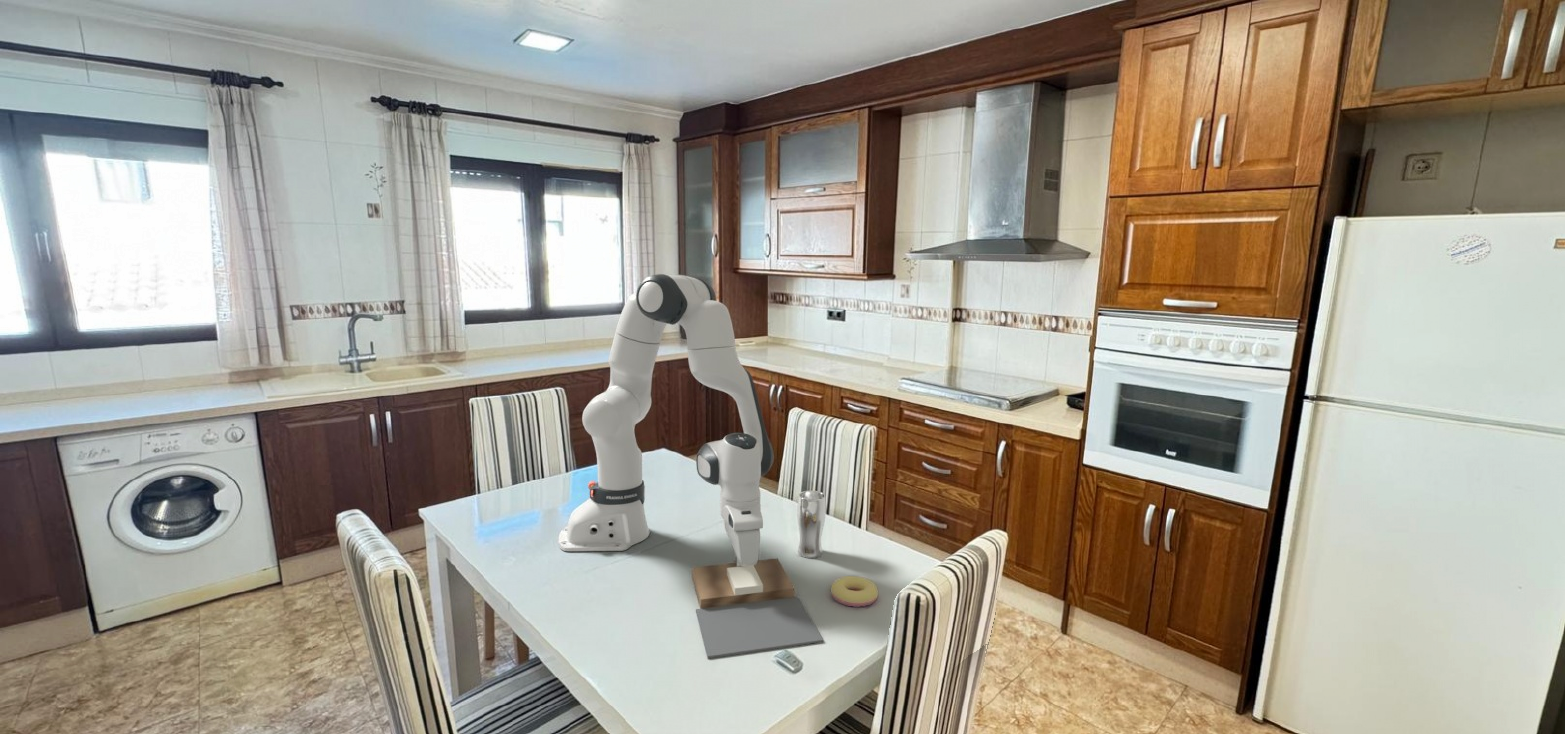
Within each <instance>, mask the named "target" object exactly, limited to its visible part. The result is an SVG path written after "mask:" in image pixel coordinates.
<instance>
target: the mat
mask: <svg viewBox="0 0 1565 734" xmlns="http://www.w3.org/2000/svg"><path fill="white" fill-rule="evenodd" d="M695 612H696V617H697V621H698V624H699V629H700V633H701V637H702V641H703V645H704V649H705V654H706V658H707V660H708V659H715V658H716V657H717V658H722V656H723V657H730V656H736V655H744V654H749V653H758V652H764V651H770V650H776V649H777V650H779V649H784V648H785V647H786V648H792V646H793V647H798V646H797V645H800V646H805V645H804V644H807V645H812V643H814V644H819V643H820V642H821V643H823V642H824V639H823V638H822V635H821V634H820V632H819V631H818V629H817V627H816V625H815V624H814V622H813V619H812V618H811V616H810V614H809V613H808V611H807V609H806V607H805V605H804V603H803V602H802V600H801V598H800V596H794V597H790V598H782V599H774V600H766V601H758V602H750V603H741V604H733V605H725V606H717V607H709V608H700V607H699V608H695ZM810 643H811V644H810ZM821 643H820V644H821ZM729 655H730V656H729Z"/></svg>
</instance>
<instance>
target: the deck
mask: <svg viewBox="0 0 1565 734" xmlns="http://www.w3.org/2000/svg"><path fill="white" fill-rule="evenodd" d="M731 567H737V566H736V563H735V562H732V563H731V562H730V563H721V564H711V565H702V566H692V567H691V575H692V576H691V578H692V583H693V587H694V590H695V594H696V597H697V602H698V605H699V609H700V608H709V607H717V606H725V605H733V604H741V603H750V602H758V601H766V600H774V599H782V598H790V597H795V587H794V585H793V583H792V581H791V579H790V578H789V576H788V575H787V572H786V570H785V569H784V567H783V566H782V563H781V562H780V560H779V558H768V559H760V560H759V559H758V562H757V564H756V565H754V567H755V569H756V571H757V573H758V576H759V578H760V580H761V582H762V584H763V592H760V593H751V594H743V595H735V594H734V592H733V589H732V587H731V584H730V581H729V579H728V576H727V568H731Z"/></svg>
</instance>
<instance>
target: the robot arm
mask: <svg viewBox="0 0 1565 734" xmlns="http://www.w3.org/2000/svg"><path fill="white" fill-rule="evenodd" d="M732 322H733V321H732V318H731V315H730V312H729V309H728V308H727V306H726V305H725V304H724V303H722V302H720V301H717V297H716V292H715V289H714V288H713V287H712V286H711V285H710V284H709V283H708V282H706V281H705V280H703V279H702V278H699V277H692V276H689V275H683V274H669V275H668V274H664V273H663V274H662V273H657V274H652V275H650V276H647V277H646V278H644V279H643V280H642V281H641V282H640V283H639V285H638V287H637V289H636V292H634V293H632V294H631V295H629V297H628V298H627V300H626V302H625V304H624V306H623V308H622V311H621V313H620V315H619V319H618V322H617V325H616V329H615V332H614V337H613V340H612V344H611V348H610V352H609V355H608V360H607V362H608V366H609V368H610V372H609V374H610V376H609V384H608V387H607V389H606V390H605V391H603V392H602V393H600V394H598V395H596V396H594V397H593V398H592V399H591V400H590V401H589V402H588V404H587V405H586V407H585V408H584V410H583V412H582V417H581V419H582V420H581V421H582V425H583V427H584V430H585V431H586V432H587V433H588V434H589V436H591V439H592V442H593V445H594V450H595V453H596V464H597V465H596V466H597V468H596V469H597V482H596V481H595V480H591V481H589V482H588V485H587V486H588V489H589V498H588V499H587V500H585V501H584V502H583V503H581V504H580V505H579V506H577V507H576V508H575V509H574V510H572V512H571V514H570V516H569V519H568V522H567V526H565V527H563V528H562V529H561V531H560V532H559V535H558V546H559V548H560V549H561V551H564V552H617V551H618V552H620V551H626V550H629V548H631V547H632V546H633V545H636V544H639V543H640V542H642V541H644V540H646V539H647V538H648V537H649V536H650V529H649V526H648V522H647V518H646V512H645V505H644V503H645V499H646V494H645V493H646V490H645V489H646V485H645V481H644V480H643V453H642V450H641V448H639V446H638V443H637V439H636V436H635V435H636V434H635V426H636V424H638V423H640V422H641V421H642V420H644V419H645V417H646V416H647V414H648V413H649V411H650V408H651V406H652V395H651V394H652V393H651V392H652V382H653V381H652V380H653V379H652V378H653V371H654V368H655V364H656V360H657V356H658V353H659V349H660V346H661V342H662V337H663V333H664V331H665V328H666V326H667V324H668V325H671V326H673V325H676V324H679V325H680V326H681V327H682V328H683V329H684V332H685V336H686V347H687V359H688V366H689V367H688V368H689V370H690V372H691V375H692V376H693V377H694V379H695V380H696V381H697V382H699V383H701V385H703V386H706V387H708V388H710V389H713V390H717V391H720V392H724V393H726V394H728V396H730V397H732V398H733V400H734V401H735V403H736V406H737V409H738V410H737V411H738V413H739V418H740V421H741V426H742V430H743V432H731V433H729V434H727V435H725V436H724V437H723V439H720V440H714V441H710V442H706V443H704V444H703V445H702V446H701V447H700V448H699V450H698V452H697V455H696V461H695V462H696V472H697V474H698V475H699V477H700V478H701V479H703V480H704V481H705V482H707V483H708V484H710V485H713V486H717V485H718V486H720V489H721V490H720V500H719V501H720V503H719V504H720V505H719V506H720V511H719V512H720V513H719V515H720V517H721V518H722V519H723V520H724V523H723V524H724V529H725V532H726V534H727V537H728V539H729V541H730V544H731V546H732V548H733V554H734V563H736V566H737V567H740V566H750V565H756V564H757V562H758V560H759V558H760V546H761V529H763V527H764V520H763V515H762V511H761V510H762V508H761V506H762V505H761V490H760V480H761V478H762V477H765V476H766V474H767V473H768V472H769V471H770V470H771V467H772V466H773V463H774V460H775V454H774V449H773V446H772V444H771V441H770V439H769V437H768V433H767V429H766V426H765V423H764V422H765V421H764V418H763V413H762V409H761V406H760V401H759V397H758V393H757V390H756V386H755V383H754V380H753V377H752V374H751V372H749V370H747V369H746V368H744V367H743V365H742V364H741V362H740V360H739V356H738V354H737V350H736V349H737V348H736V340H735V339H736V337H735V332H734V329H733V328H734V327H733V323H732Z"/></svg>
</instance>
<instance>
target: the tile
mask: <svg viewBox="0 0 1565 734" xmlns="http://www.w3.org/2000/svg"><path fill="white" fill-rule="evenodd" d="M727 576H728V579H729V581H730V584H731V587H732V589H733V592H734V594H735V595H743V594H751V593H760V592H763V584H762V582H761V580H760V578H759V576H758V573H757V571H756V569H755V567H754V565H750V566H740V567H731V568H727Z"/></svg>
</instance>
